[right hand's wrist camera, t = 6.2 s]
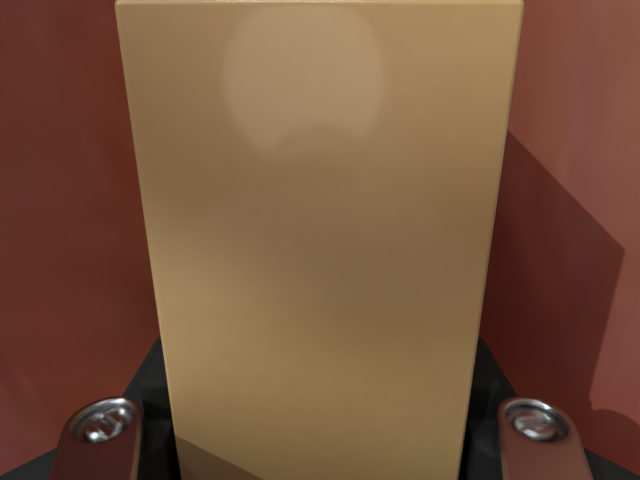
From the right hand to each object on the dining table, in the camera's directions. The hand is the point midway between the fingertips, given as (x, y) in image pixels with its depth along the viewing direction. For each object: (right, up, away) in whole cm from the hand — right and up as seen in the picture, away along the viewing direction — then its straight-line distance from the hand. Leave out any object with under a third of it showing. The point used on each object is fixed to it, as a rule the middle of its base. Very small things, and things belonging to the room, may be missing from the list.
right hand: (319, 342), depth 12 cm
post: (0, -19, +9) cm, 21 cm away
